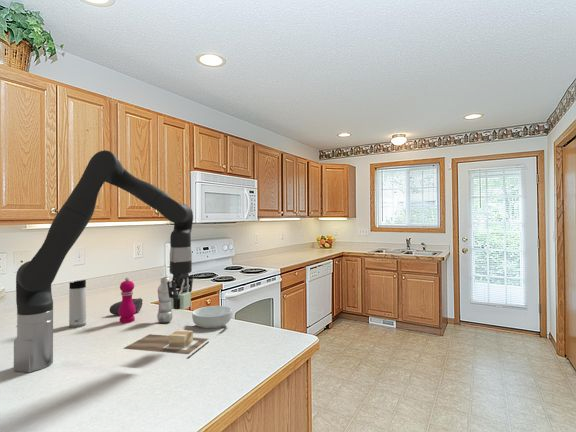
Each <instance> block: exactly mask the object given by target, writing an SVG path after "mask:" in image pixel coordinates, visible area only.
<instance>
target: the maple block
mask: <svg viewBox="0 0 576 432" xmlns="http://www.w3.org/2000/svg"><path fill="white" fill-rule="evenodd" d="M168 336H169V347H179V348H185V347H186V346H188V345H189V344H191V343H192V342H193V338H194V331H193V330H189V329H188V330H186V329H185V330H184V329H177V330H175V331H174V332H171V334H168Z"/></svg>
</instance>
